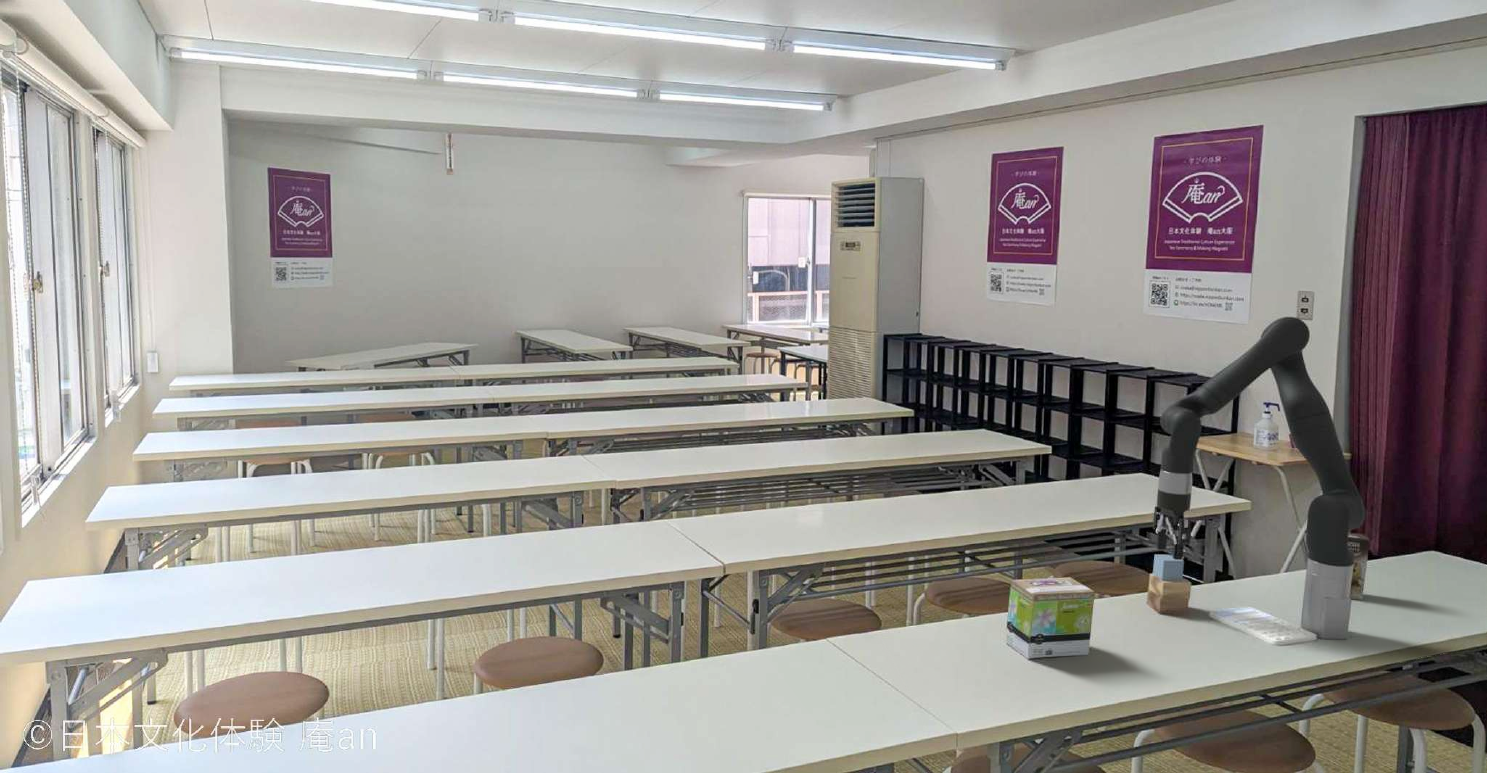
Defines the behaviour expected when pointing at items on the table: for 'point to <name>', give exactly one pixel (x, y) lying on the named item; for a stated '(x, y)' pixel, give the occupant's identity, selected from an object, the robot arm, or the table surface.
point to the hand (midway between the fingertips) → (1169, 553)
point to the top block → (1170, 588)
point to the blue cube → (1168, 568)
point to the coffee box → (1358, 563)
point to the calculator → (1262, 625)
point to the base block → (1167, 604)
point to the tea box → (1049, 617)
